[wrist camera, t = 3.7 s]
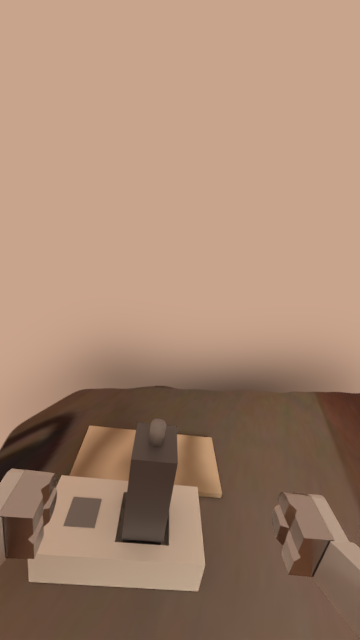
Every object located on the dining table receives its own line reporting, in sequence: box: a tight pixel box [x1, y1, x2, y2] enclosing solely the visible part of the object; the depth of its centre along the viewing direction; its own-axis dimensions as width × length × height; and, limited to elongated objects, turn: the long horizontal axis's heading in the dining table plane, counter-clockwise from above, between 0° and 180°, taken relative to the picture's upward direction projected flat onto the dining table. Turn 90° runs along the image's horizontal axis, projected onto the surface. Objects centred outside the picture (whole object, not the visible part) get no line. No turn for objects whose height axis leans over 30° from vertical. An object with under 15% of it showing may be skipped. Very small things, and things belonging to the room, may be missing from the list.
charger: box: [122, 419, 178, 545], centre depth 27 cm, size 4×5×14 cm
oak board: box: [69, 426, 222, 498], centre depth 40 cm, size 20×10×1 cm, turn 91°
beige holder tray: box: [28, 475, 205, 591], centre depth 29 cm, size 16×8×4 cm, turn 91°
